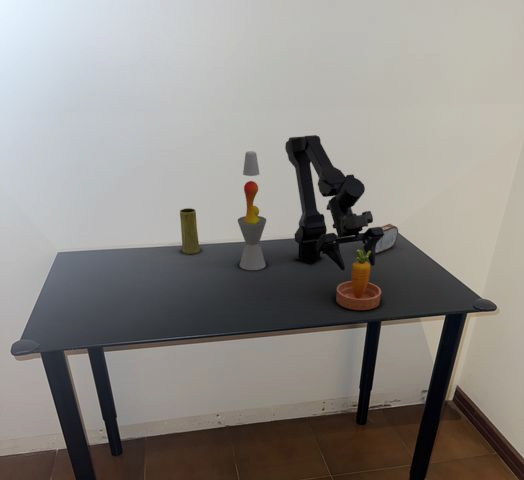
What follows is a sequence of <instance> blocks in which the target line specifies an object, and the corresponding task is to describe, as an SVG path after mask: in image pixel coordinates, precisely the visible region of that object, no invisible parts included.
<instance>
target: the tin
mask: <svg viewBox="0 0 524 480" xmlns="http://www.w3.org/2000/svg"><path fill="white" fill-rule="evenodd" d="M380 227H381V228H382V229H383V231H384V234H385V235H384V236H383V237H382V238H381V239H380V240H379V241H378V242H377V244H376V249H375V255H376V254H380V253H382V252H384V251H387V250H389V249H391V248H392V247H393V246H394V245H395V244H396V242H397V239H398V235H399V227H397V226H396V225H393V224H392V223H388V224H385V225H382V226H380Z"/></svg>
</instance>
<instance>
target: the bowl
mask: <svg viewBox="0 0 524 480" xmlns="http://www.w3.org/2000/svg"><path fill="white" fill-rule="evenodd" d="M335 289H336V290H335V301H336V303H337V304H338V305H339V306H341V307H343V308H345V309H349V310H354V311H369V310H372V309H376V308H377V307H378V306H379V305H380V303H381V299H382V298H381V297H382V289H381V288H380V286H378V285H376V284H374V283H372V282H369V281H368V284H367V287H366V290H365V292H364V294H363V296H362V297H361V298H360V299H357V298H355V295H354V293H353V289H352V280H349V281H348V280H347V281H344V282H341V283H339V284H338V285H337V287H336V288H335Z"/></svg>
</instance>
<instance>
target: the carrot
mask: <svg viewBox="0 0 524 480" xmlns="http://www.w3.org/2000/svg"><path fill="white" fill-rule="evenodd" d="M365 254H366V253H365ZM370 254H371V251H369V252H368V253H367V254H366V255H364V252H363V250H361V249H357V250H356V255H357V257H356V261H354V262H353V263H352V266H351V281H352V289H353V293H354V295H355V298H357V299H360V298H361V297H362V296H363V294H364V292H365V290H366V287H367V284H368V282H369V281H370V275H371V264H370V262H369V261H367V260H368V256H369V255H370Z"/></svg>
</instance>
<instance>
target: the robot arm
mask: <svg viewBox="0 0 524 480" xmlns="http://www.w3.org/2000/svg"><path fill="white" fill-rule="evenodd" d="M284 146H285V147H284V149H285V152H286V154H287V159H288V161H289V163H291V165H292V166H293V167H294V170H295V175H296V182H297V189H298V195H299V201H300V208H301V216H300V219H299V221H298V228H297V229H296V231H295V233H294V241H295V242H296V243H297V244H298V256H297V257H295V261H299V262H302V263H305V264H306V263H307V264H310V265H312V264H315V263H316V262H318V261H319V260H321V259H322V256H321V253H322V254H323V255H326V256H327V257H328V258H329V259H331V260H332V262H334V263H335V264H336V265H337V266H338V267H339V269H341V271H344V270H345V269H346V268H345V262H344V260H343V256H342V254H341V250H340V244H349V243H354V242H361V241H362V244H363V250H364V252H365V254H367V253H368V252H369V251H371V254H370V255H369V256H368V258H367V260H368V262H369V264H370V266H372V267H373V266H375V264H376V254H375V249H376V244H377V242H378V241H379V240H380V239H381V238H382V237H383V236H384V235H385V234H384V231H383V229H382V228H381V227H382V226H374V227H369V224H372V223H373V222H374V217H373V214H372V211H371V210H366V211H365V210H364V211H363V212H361V214H357V213H354V212H353V209H352V207H354V206H355V205H356V203H357V202H358V201H359V200H360V198H361V197H363V194H364V193H365V191H366V187H365V184H364V183H363V182H362V181H361V180H360V179H359V178H356V177H355V175H354V174H346V175H345V174H344V172H343V171H342V170H341V169H339V168H337V167H335V166H334V165H333V163H332V161H331V159H330V158H329V155H328V154H327V152H326V150H325V148H324V146H323V145H322V143H321V138H320V136H319V135H316V134H313V135H304V136H291V137H289V138H288V139H287V141H285V145H284ZM311 165H312V166H311ZM312 167H313V169H314V171H315V173H316V174H317V177H318V180H317V187H318V191H319V193H320V194H321V196H322V197H323V198H328V197H331V198H330V199H329V200H328V203H327V205H326V211H330V215H331V218H332V221H333V224H332V228H333V229H334V230H335V231H336V233H335V232H329V233H327V231H328V229H327V225H326V220H325V215H324V214H323V213H320V211H319V210H318V207H317V200H316V193H315V187H314V181H313V174H312ZM367 227H369V228H367ZM364 228H367V230H366V231H365V232H363V230H364ZM360 232H363V233H360Z"/></svg>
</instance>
